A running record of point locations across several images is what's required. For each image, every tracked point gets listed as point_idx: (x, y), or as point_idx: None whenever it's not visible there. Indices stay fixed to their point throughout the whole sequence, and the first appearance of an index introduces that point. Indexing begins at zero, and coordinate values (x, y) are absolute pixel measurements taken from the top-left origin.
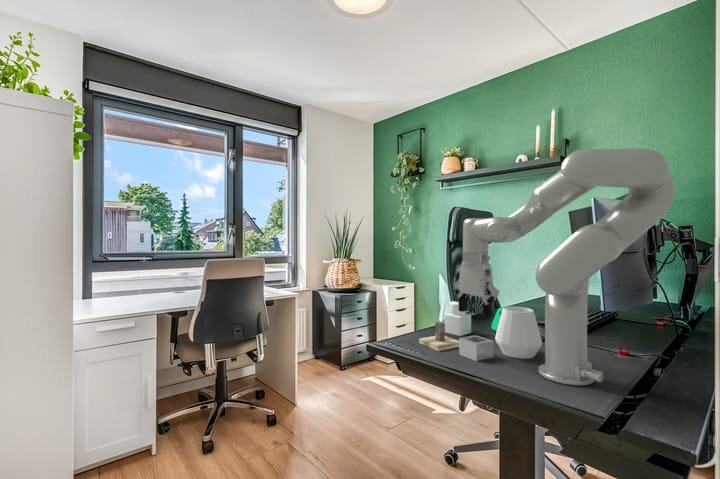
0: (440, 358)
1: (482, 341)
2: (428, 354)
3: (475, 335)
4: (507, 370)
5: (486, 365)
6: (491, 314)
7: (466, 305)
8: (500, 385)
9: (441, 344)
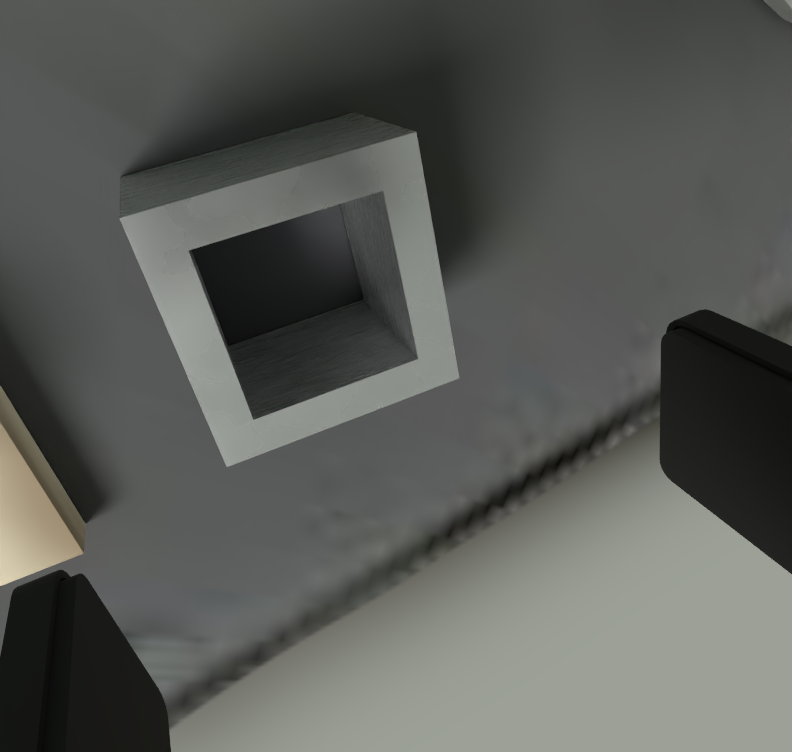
0: (272, 544)
1: (404, 276)
2: (163, 605)
3: (133, 223)
4: (617, 192)
5: (494, 287)
6: (729, 322)
7: (85, 682)
8: None
9: (14, 518)
